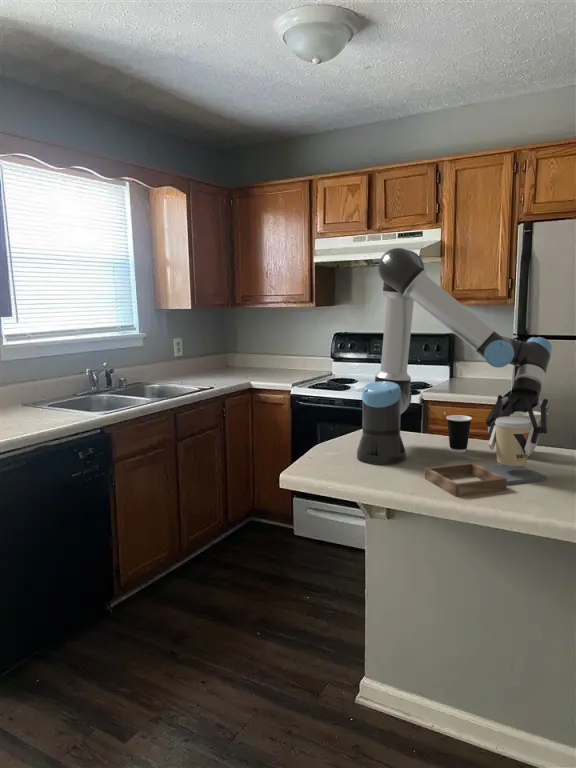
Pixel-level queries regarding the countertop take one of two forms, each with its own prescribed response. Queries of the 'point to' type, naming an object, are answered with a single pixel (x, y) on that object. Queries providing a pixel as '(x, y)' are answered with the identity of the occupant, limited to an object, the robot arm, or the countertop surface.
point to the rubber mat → (516, 474)
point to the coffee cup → (512, 440)
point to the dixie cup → (458, 432)
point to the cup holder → (487, 483)
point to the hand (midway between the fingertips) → (508, 449)
